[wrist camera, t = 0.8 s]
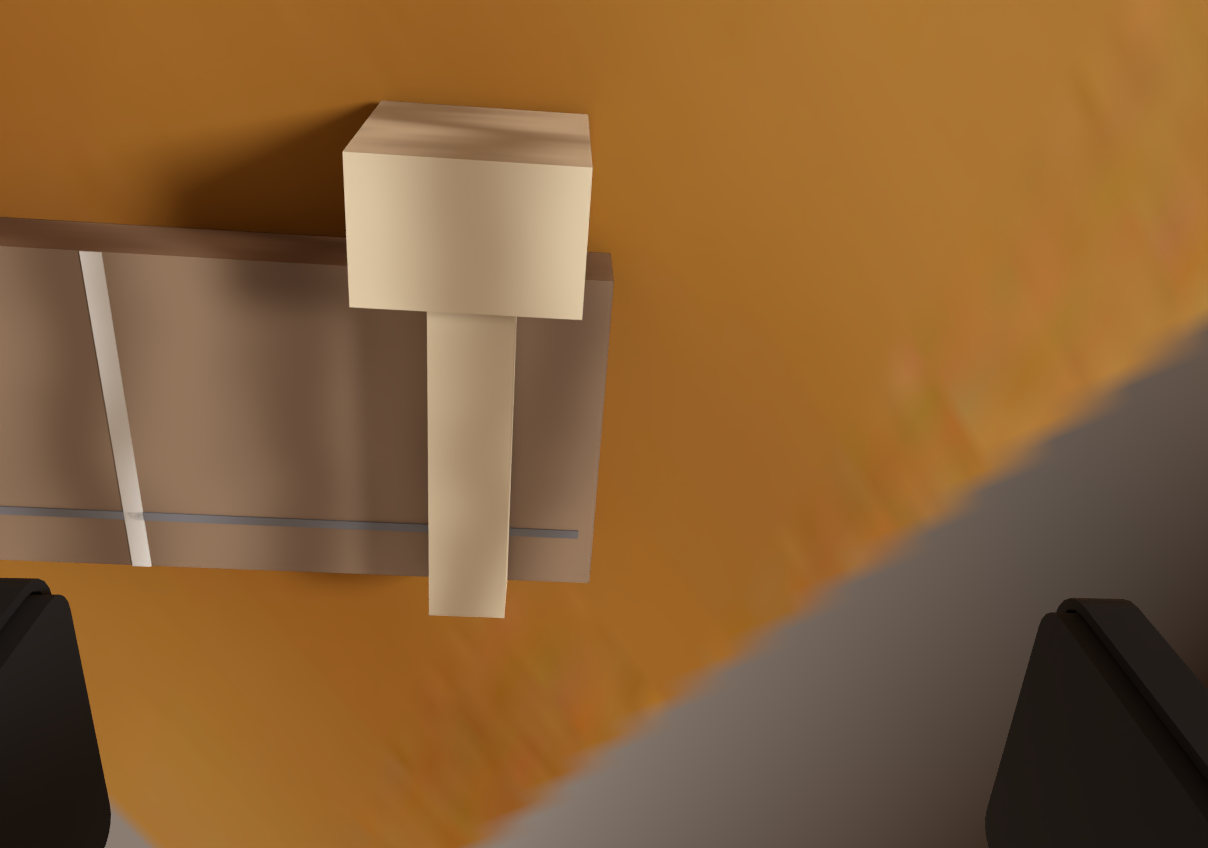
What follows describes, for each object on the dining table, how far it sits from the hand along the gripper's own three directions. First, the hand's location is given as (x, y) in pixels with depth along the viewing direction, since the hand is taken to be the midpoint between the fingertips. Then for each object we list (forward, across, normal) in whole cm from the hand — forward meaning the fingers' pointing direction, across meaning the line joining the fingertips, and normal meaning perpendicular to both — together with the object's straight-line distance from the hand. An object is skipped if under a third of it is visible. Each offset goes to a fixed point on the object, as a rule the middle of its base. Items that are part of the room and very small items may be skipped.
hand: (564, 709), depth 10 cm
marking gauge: (+24, +2, +6) cm, 25 cm away
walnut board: (+24, +8, +8) cm, 27 cm away
